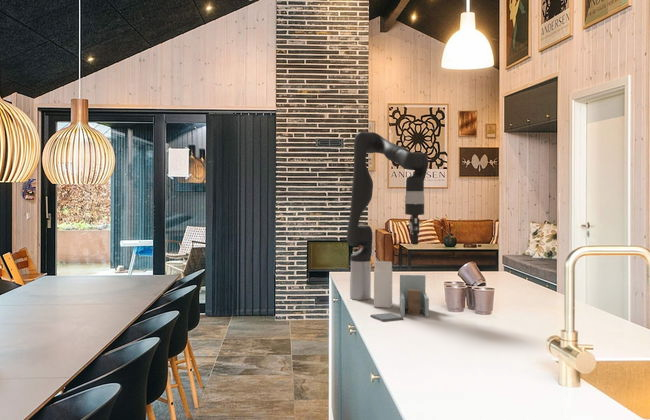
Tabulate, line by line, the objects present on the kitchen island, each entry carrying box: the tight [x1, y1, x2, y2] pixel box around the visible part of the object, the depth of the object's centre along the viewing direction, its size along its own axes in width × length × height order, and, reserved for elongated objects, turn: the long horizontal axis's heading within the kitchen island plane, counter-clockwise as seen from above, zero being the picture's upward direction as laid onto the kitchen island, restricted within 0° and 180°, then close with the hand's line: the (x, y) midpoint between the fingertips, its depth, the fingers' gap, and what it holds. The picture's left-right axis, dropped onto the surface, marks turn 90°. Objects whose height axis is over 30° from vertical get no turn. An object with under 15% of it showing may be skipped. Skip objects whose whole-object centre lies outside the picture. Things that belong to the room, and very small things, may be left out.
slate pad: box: [370, 312, 404, 322], centre depth 216 cm, size 9×9×1 cm
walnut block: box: [407, 289, 421, 315], centre depth 226 cm, size 4×4×9 cm
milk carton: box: [373, 260, 393, 309], centre depth 240 cm, size 7×7×19 cm
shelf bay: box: [399, 274, 430, 318], centre depth 227 cm, size 16×10×14 cm, turn 175°
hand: (414, 243), depth 226 cm, fingers open, 8 cm apart
